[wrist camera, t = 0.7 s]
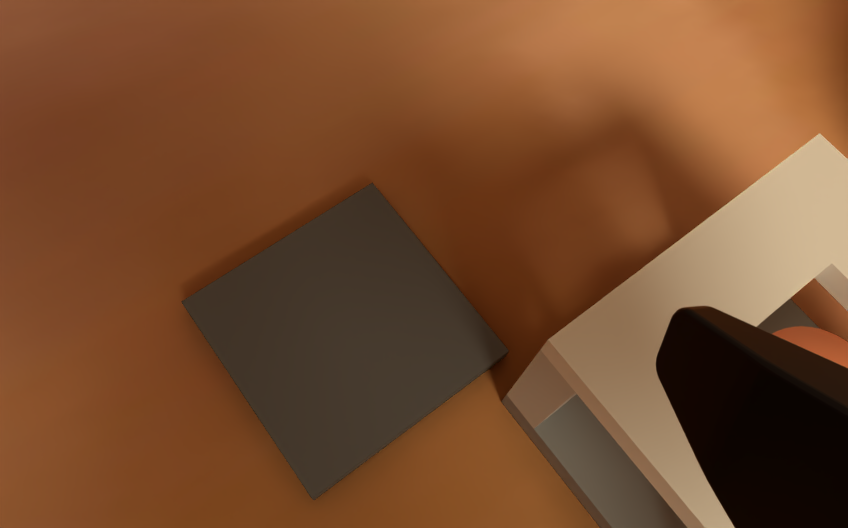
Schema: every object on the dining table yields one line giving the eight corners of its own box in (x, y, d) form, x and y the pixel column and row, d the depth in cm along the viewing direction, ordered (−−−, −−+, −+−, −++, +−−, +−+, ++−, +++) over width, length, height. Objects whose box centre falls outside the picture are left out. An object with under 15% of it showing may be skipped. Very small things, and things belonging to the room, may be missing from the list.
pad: (505, 356, 22) (508, 351, 21) (313, 500, 20) (312, 498, 19) (372, 191, 24) (372, 182, 23) (186, 308, 22) (181, 301, 21)
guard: (924, 465, 21) (1139, 428, 15) (717, 676, 19) (875, 731, 13) (708, 241, 24) (819, 133, 18) (501, 402, 21) (547, 339, 15)
